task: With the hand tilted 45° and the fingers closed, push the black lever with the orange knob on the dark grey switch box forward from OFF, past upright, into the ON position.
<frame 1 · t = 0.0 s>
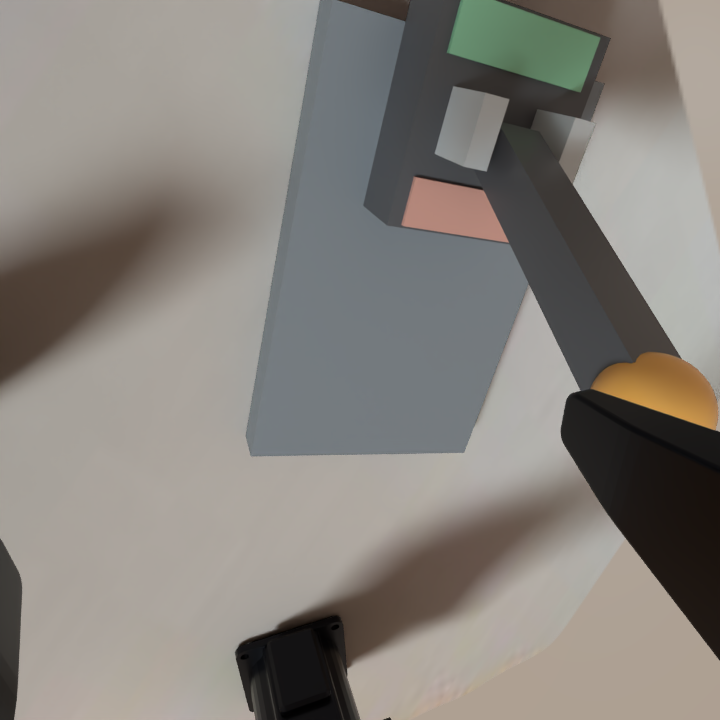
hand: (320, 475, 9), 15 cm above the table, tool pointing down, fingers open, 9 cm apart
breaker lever: (573, 273, 15), point 10 cm above the table, hinge at -25.0°
switch box: (443, 117, 22), on the table
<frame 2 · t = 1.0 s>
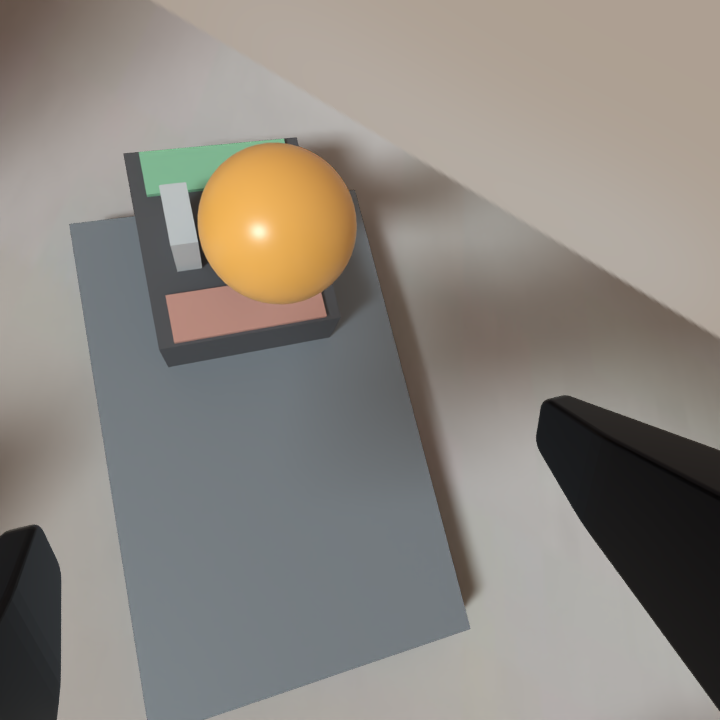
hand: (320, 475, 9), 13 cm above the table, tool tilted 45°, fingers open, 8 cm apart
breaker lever: (252, 231, 13), point 10 cm above the table, hinge at -25.1°
switch box: (233, 279, 23), on the table
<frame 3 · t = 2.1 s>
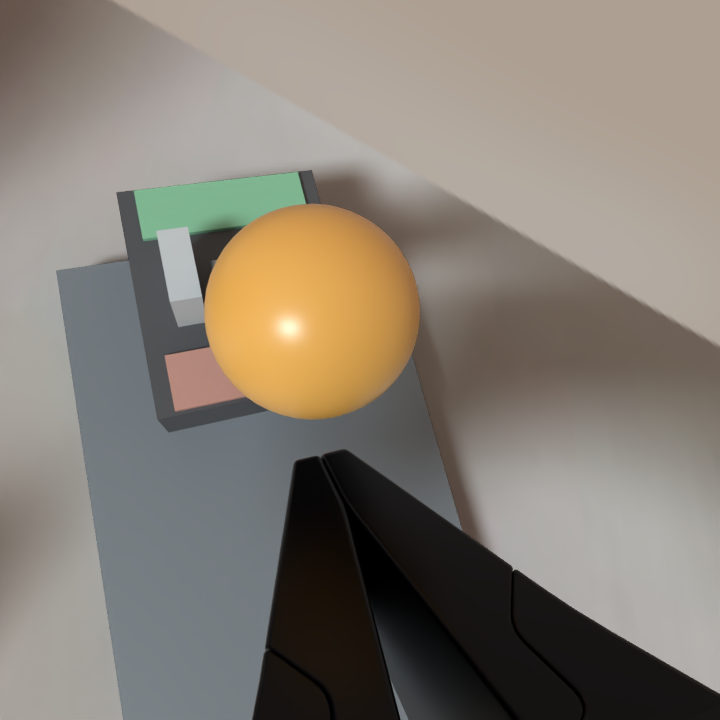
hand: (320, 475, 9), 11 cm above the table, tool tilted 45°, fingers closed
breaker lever: (268, 295, 11), point 10 cm above the table, hinge at -25.1°
switch box: (241, 326, 21), on the table
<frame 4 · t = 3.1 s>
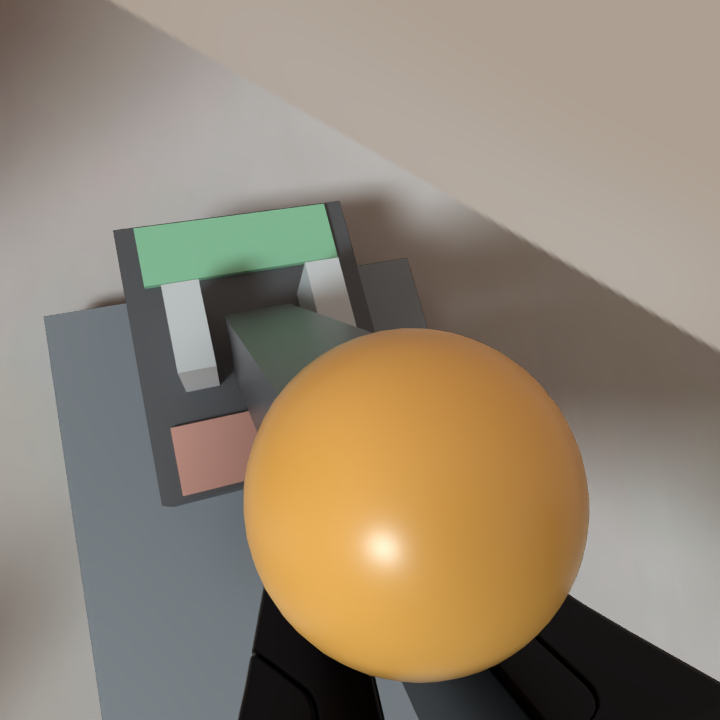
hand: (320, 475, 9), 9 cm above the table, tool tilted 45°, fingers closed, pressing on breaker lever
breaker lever: (307, 387, 8), point 10 cm above the table, hinge at -23.9°, touching gripper
switch box: (255, 374, 18), on the table
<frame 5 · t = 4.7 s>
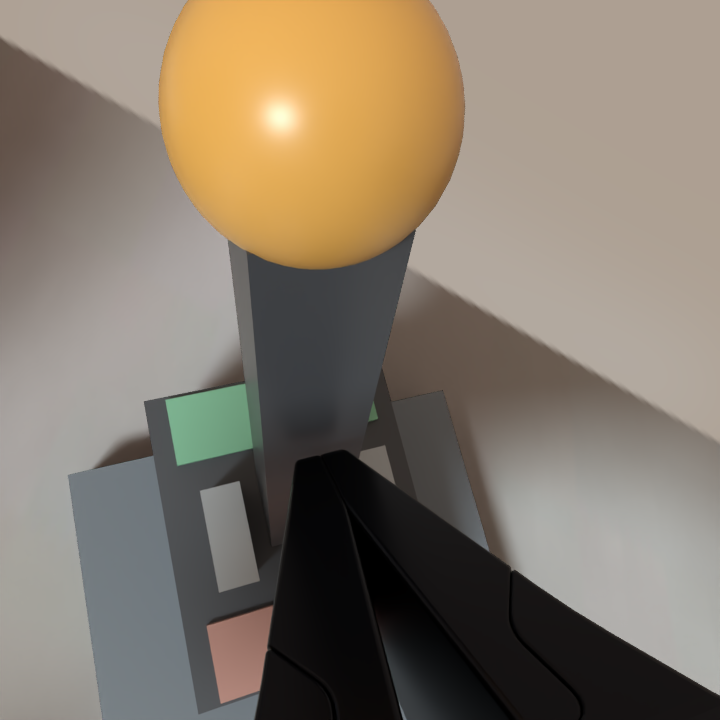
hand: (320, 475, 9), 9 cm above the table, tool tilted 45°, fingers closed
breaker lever: (304, 375, 8), point 10 cm above the table, hinge at 19.1°
switch box: (286, 515, 17), on the table
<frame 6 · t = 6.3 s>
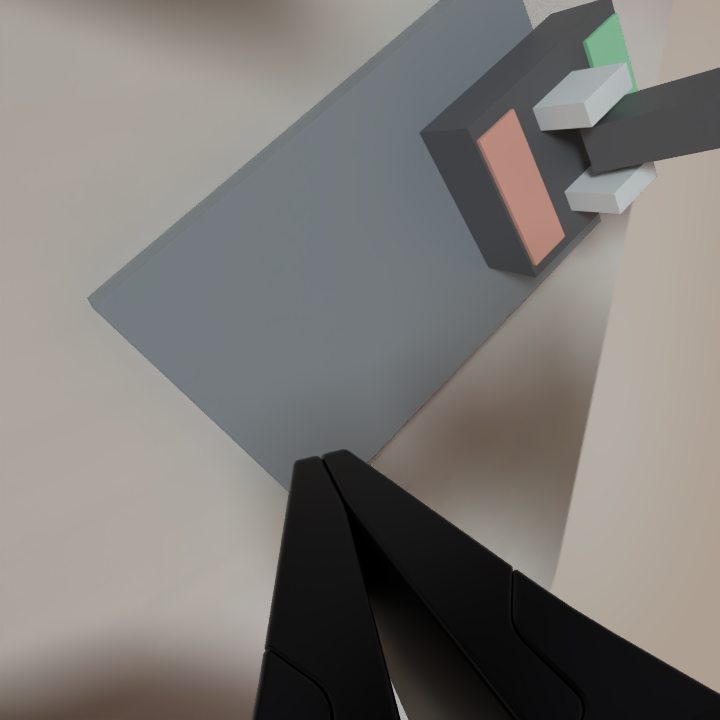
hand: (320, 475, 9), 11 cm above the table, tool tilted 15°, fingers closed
switch box: (491, 147, 23), on the table
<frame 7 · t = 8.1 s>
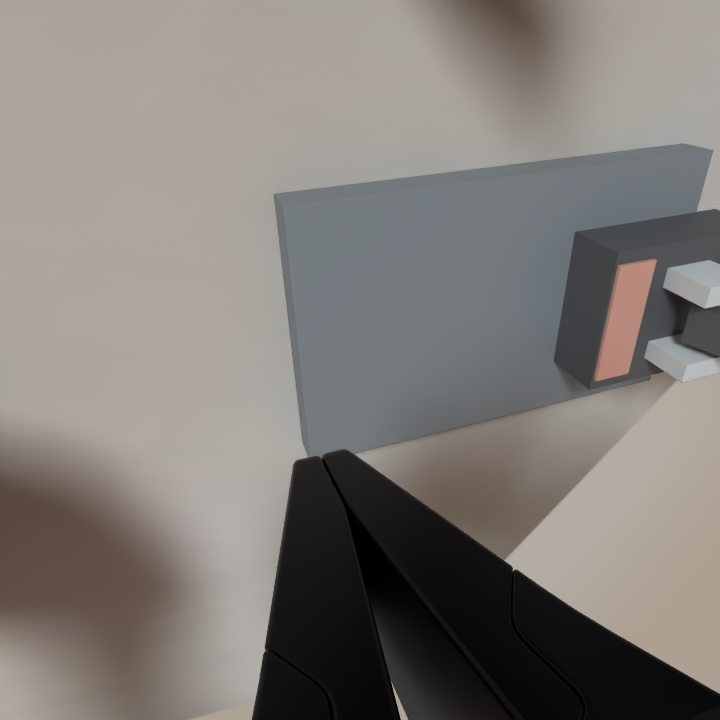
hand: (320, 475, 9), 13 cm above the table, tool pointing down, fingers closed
switch box: (608, 274, 26), on the table
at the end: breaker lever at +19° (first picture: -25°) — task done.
